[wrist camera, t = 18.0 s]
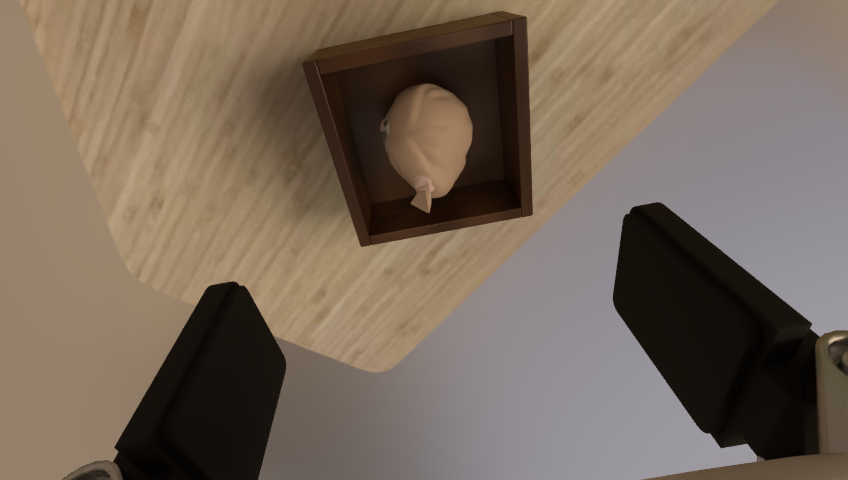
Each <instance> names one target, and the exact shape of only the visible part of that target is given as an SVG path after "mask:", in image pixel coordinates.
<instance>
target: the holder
mask: <svg viewBox="0 0 848 480" xmlns="http://www.w3.org/2000/svg"><path fill="white" fill-rule="evenodd" d="M302 65H303V68H304V72H305V75H306V78H307V81H308V84H309V87H310V90H311V93H312V96H313V100H314V103H315V106H316V109H317V112H318V115H319V118H320V121H321V124H322V127H323V131H324V134H325V137H326V140H327V143H328V146H329V149H330V152H331V155H332V159H333V162H334V165H335V168H336V171H337V174H338V177H339V180H340V183H341V187H342V190H343V193H344V196H345V199H346V202H347V205H348V208H349V211H350V215H351V218H352V221H353V224H354V227H355V230H356V233H357V236H358V239H359V242H360V246H361V247H364V246H369V245H371V244H372V245H375V244H380V243H386V242H391V241H396V240H402V239H407V238H413V237H418V236H423V235H429V234H434V233H439V232H445V231H450V230H455V229H461V228H466V227H472V226H477V225H482V224H488V223H493V222H498V221H504V220H509V219H514V218H520V217H521V216H522V217H526V216H531V215H533V208H532V174H531V140H530V105H529V71H528V37H527V17H525V16H521V15H517V14H512V13H508V12H504V11H500V12H496V13H491V14H486V15H481V16H476V17H472V18H467V19H462V20H457V21H452V22H447V23H443V24H438V25H433V26H428V27H423V28H419V29H414V30H409V31H404V32H399V33H394V34H390V35H385V36H380V37H375V38H370V39H366V40H361V41H356V42H351V43H346V44H342V45H337V46H332V47H327V48H322V49H318V50H317V51H316V52H315V53H314V54H312V55H311V56H310V57H309V58H308V59H307V60H306V61H304V62H303V63H302ZM419 84H434V85H437V86H439V87H441V88H443V89H445V90H448V91H450V92H451V93H453V94H454V95H455V96H456V97H457V98H458V99H459V100H460V101H462V102H463V104H464V105H465V106H466V107H467V110H468V114H469V117H470V119H471V121H472V125H473V131H472V142H471V145H470V147H469V149H468V152H467V154H466V163H465V166H464V168H463V170H462V172H461V173H460V175H459V177H458V178H457V180H456V181H455V182H454V184H453V186H452V188H451V189H450V191H449V192H448V193H447V194H446V195H444V196H442V197H439V198H431V208H430V213H427V212H425V211H423V210H421V209H419V208H417V207H416V206H414V205H412V204H411V202H412V200H413V199H414V197H415V195H416V194H417V192H416V190H415V189H414V188H413V187H412V186H411V185H410V184H409V183H408V182H407V181H406V180H405V179H404V178H402V177H401V176H400V175H399V174H398V173H397V171H396V170H395V169H394V168H393V166H392V165H391V163H390V162H389V159H388V153H387V152H386V149H385V145H384V142H383V138H382V137H381V136H380V134H381V131H380V126H381V123H382V121H383V119H385V118H386V115H387V113H388V111H389V110H390V108H391V107H392V105H393V104H394V101H395V99H396V97H397V96H398V94H399V93H400V92H401V91H403V90H404V89H406V88H408V87H411V86H414V85H419Z"/></svg>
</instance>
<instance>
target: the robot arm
mask: <svg viewBox="0 0 848 480" xmlns="http://www.w3.org/2000/svg"><path fill="white" fill-rule="evenodd" d="M613 302H614V306H615V309H616V310H617V312H618V314H619V315H620V316H621V318H622V319H623V321H624V322H625V323H626V325H627V326H628V328H629V329H630V330H631V332H632V333H633V335H634V336H635V338H636V339H637V341H638V342H639V343H640V345H641V346H642V348H643V349H644V351H645V352H646V353H647V355H648V356H649V358H650V359H651V361H652V362H653V363H654V365H655V366H656V368H657V369H658V371H659V372H660V373H661V375H662V376H663V378H664V379H665V380H666V382H667V383H668V385H669V386H670V388H671V389H672V390H673V392H674V393H675V395H676V396H677V398H678V399H679V400H680V402H681V403H682V405H683V406H684V408H685V409H686V410H687V412H688V413H689V415H690V416H691V418H692V419H693V420H694V422H695V423H696V425H697V426H698V427H699V428H700V429H701V430H702V431H703V432H705V433H710V434H711V435H712V436H713V438H714V439H715V440H716V442H717V443H718V445H719V446H720V448H725V447H731V446H737V445H742V444H748V445H749V446H750V448H751V449H752V450H753V451H754V453H755V454H756V455H757V462H752V463H746V464H739V465H732V466H725V467H718V468H711V469H705V470H698V471H692V472H686V473H680V474H674V475H668V476H662V477H656V478H650V479H643V480H848V331H833V332H830V333H825V334H824V335H822V336H821V337H819V336H818V335H817V334H816V333H814V332H813V331H812V330H811V329H810V327H811V325H812V323H811V322H809V321H808V320H807V319H806V318H804V317H803V316H802V315H801V314H799V313H798V312H797V311H796V310H794V309H793V308H792V307H791V306H789V305H788V304H787V303H786V302H784V301H783V300H782V299H780V298H779V297H778V296H777V295H776V294H774V293H773V292H772V291H771V290H769V289H768V288H767V287H766V286H764V285H763V284H762V283H761V282H760V281H758V280H757V279H755V277H753V276H752V275H751V274H749V273H748V272H747V271H746V270H745V269H743V268H742V267H741V266H739V265H738V264H737V263H736V262H735V261H733V260H732V259H731V258H730V257H728V256H727V255H726V254H725V253H723V252H722V251H721V250H720V249H718V248H717V247H716V246H715V245H713V244H712V243H711V242H710V241H708V240H707V239H706V238H705V237H703V236H702V235H701V234H700V233H698V232H697V231H696V230H695V229H694V228H692V227H691V226H690V225H689V224H687V223H686V222H685V221H684V220H682V219H681V218H680V217H679V216H677V215H676V214H675V213H673V212H672V211H671V210H670V209H669V208H667V207H666V206H665V205H664V204H662V203H658V202H656V203H651V204H646V205H640V206H635V207H633V208H632V209H631V211H630V214H626V215H625V217H624V219H623V226H622V232H621V241H620V248H619V255H618V263H617V270H616V277H615V285H614V292H613ZM285 371H286V361H285V357H284V355H283V353H282V351H281V349H280V348H279V346H278V344H277V342H276V340H275V339H274V337H273V335H272V333H271V331H270V330H269V328H268V326H267V324H266V322H265V320H264V319H263V317H262V315H261V313H260V311H259V310H258V308H257V306H256V304H255V302H254V300H253V299H252V297H251V295H250V293H249V291H248V290H247V288H246V287H245V286H239V284H238V283H236V282H233V281H232V282H226V283H221V284H216V285H211V286H209V287H208V288H207V289H206V290H205V292H204V294H203V296H202V297H201V299H200V301H199V302H198V304H197V306H196V308H195V309H194V311H193V313H192V314H191V316H190V318H189V320H188V322H187V323H186V325H185V327H184V328H183V330H182V332H181V333H180V335H179V337H178V339H177V341H176V342H175V344H174V345H173V347H172V349H171V351H170V352H169V354H168V356H167V358H166V360H165V361H164V363H163V364H162V366H161V368H160V370H159V371H158V373H157V375H156V376H155V378H154V380H153V382H152V384H151V385H150V387H149V389H148V390H147V392H146V394H145V396H144V397H143V399H142V401H141V402H140V404H139V406H138V408H137V409H136V411H135V413H134V414H133V416H132V418H131V420H130V421H129V423H128V425H127V427H126V428H125V430H124V432H123V433H122V435H121V437H120V439H119V440H118V442H117V444H116V445H115V449H116V450H118V451H119V452H118V454H117V456H116V458H115V459H114V461H113V462H110V461H108V460H105V461H95V462H93V463H90V464H87V465H85V466H82V467H80V468H79V469H77V470H75V471H74V472H72V473H70V474H68V475H67V476H66V477H64V478H63V479H62V480H258V477H259V473H260V469H261V466H262V462H263V458H264V454H265V450H266V446H267V442H268V438H269V434H270V430H271V426H272V422H273V419H274V414H275V411H276V407H277V403H278V399H279V394H280V390H281V387H282V383H283V379H284V375H285Z"/></svg>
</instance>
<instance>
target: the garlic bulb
mask: <svg viewBox="0 0 848 480" xmlns="http://www.w3.org/2000/svg"><path fill="white" fill-rule="evenodd" d="M380 131H381V134H380V136H381V137H382V138H383V142H384V145H385V149H386V152H387V153H388V159H389V162H390V163H391V165H392V166H393V168H394V169H395V170H396V171H397V173H398V174H399V175H400V176H401V177H402V178H404V179H405V180H406V181H407V182H408V183H409V184H410V185H411V186H412V187H413V188H414V189H415V190H416V192H417V194H416V195H415V197H414V199H413V200H412V202H411V204H412V205H414V206H416V207H417V208H419V209H421V210H423V211H425V212H427V213H430V208H431V198H439V197H442V196H444V195H446V194H447V193H448V192H449V191H450V189H451V188H452V186H453V184H454V182H455V181H456V180H457V178H458V177H459V175H460V173H461V172H462V170H463V168H464V166H465V163H466V154H467V152H468V149H469V147H470V145H471V142H472V131H473V125H472V121H471V119H470V117H469V114H468V110H467V107H466V106H465V105H464V104H463V102H462V101H460V100H459V99H458V98H457V97H456V96H455V95H454V94H453V93H451V92H450V91H448V90H445V89H443V88H441V87H439V86H437V85H434V84H419V85H414V86H411V87H408V88H406V89H404V90H403V91H401V92H400V93H399V94H398V96H397V97H396V99H395V101H394V104H393V105H392V107H391V108H390V110H389V111H388V113H387V115H386V118H385V119H383V121H382V123H381V126H380Z"/></svg>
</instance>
